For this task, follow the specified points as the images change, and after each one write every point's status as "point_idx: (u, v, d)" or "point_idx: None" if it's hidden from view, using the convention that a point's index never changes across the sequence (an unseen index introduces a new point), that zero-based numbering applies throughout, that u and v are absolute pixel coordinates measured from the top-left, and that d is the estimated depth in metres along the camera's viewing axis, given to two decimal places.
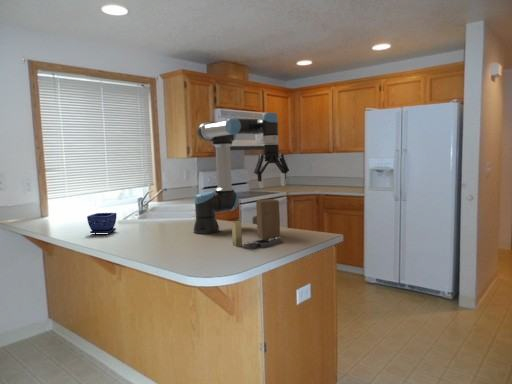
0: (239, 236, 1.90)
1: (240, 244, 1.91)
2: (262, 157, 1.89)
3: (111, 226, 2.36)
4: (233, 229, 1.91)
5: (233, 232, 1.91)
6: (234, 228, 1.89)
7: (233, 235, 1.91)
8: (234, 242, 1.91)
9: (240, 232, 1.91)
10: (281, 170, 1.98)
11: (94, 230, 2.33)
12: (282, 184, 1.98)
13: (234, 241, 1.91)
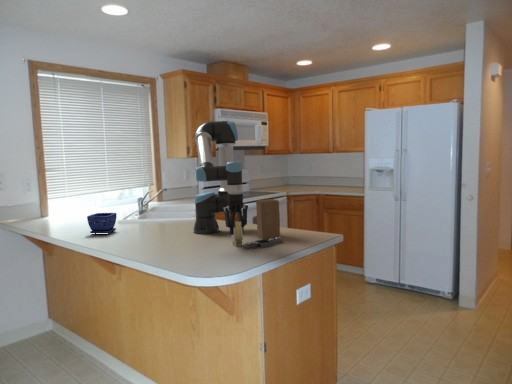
0: (239, 236, 1.90)
1: (240, 244, 1.91)
2: (227, 210, 1.86)
3: (111, 226, 2.36)
4: None
5: None
6: None
7: None
8: (234, 242, 1.91)
9: (240, 232, 1.91)
10: None
11: (94, 230, 2.33)
12: None
13: (234, 241, 1.91)
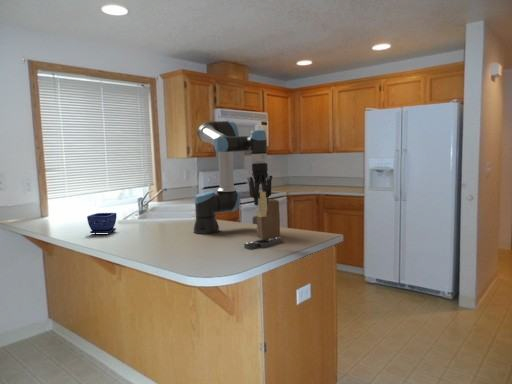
0: (264, 207, 1.86)
1: (265, 215, 1.87)
2: (251, 180, 1.82)
3: (111, 226, 2.36)
4: None
5: None
6: None
7: None
8: (258, 213, 1.87)
9: (265, 202, 1.87)
10: None
11: (94, 230, 2.33)
12: None
13: (259, 212, 1.87)
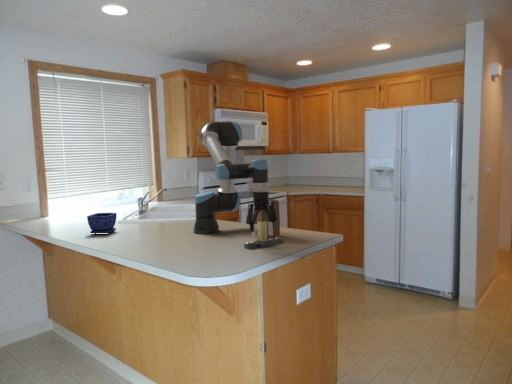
0: (265, 237, 1.88)
1: None
2: (252, 206, 1.83)
3: (111, 226, 2.36)
4: (258, 229, 1.88)
5: (258, 232, 1.88)
6: (260, 228, 1.87)
7: (258, 235, 1.89)
8: (259, 242, 1.88)
9: (266, 232, 1.88)
10: (269, 218, 1.91)
11: (94, 230, 2.33)
12: (270, 233, 1.92)
13: (259, 241, 1.88)
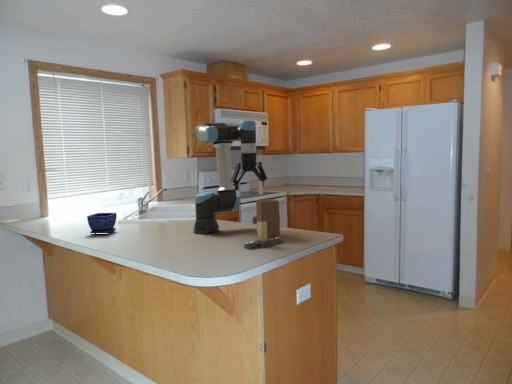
0: (265, 237, 1.88)
1: None
2: (239, 166, 1.86)
3: (111, 226, 2.36)
4: (258, 229, 1.88)
5: (258, 232, 1.88)
6: (260, 228, 1.87)
7: (258, 235, 1.89)
8: (259, 242, 1.88)
9: (265, 232, 1.88)
10: (259, 178, 1.95)
11: (94, 230, 2.32)
12: (260, 192, 1.96)
13: (259, 241, 1.88)
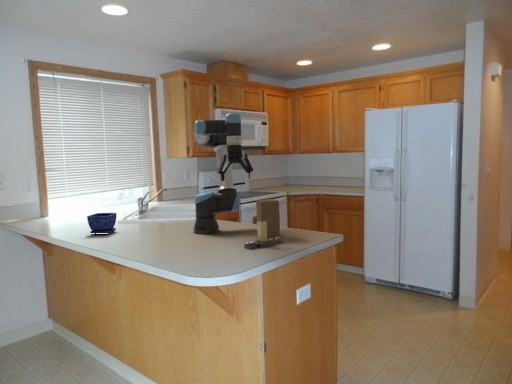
0: (265, 237, 1.88)
1: None
2: (225, 157, 1.92)
3: (111, 226, 2.36)
4: (258, 229, 1.88)
5: (258, 232, 1.88)
6: (260, 228, 1.87)
7: (258, 235, 1.89)
8: (259, 242, 1.88)
9: (265, 232, 1.88)
10: (245, 170, 2.01)
11: (94, 230, 2.32)
12: (246, 183, 2.01)
13: (259, 241, 1.88)
